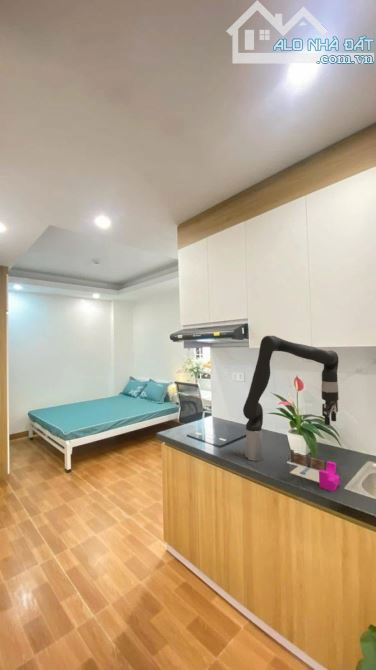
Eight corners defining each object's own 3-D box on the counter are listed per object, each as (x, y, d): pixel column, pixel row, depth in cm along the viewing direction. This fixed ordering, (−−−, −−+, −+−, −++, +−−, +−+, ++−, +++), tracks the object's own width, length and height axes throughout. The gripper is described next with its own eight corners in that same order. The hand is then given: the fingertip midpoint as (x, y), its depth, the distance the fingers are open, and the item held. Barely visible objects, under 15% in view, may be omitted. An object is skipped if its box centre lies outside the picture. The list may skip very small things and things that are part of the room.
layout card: (277, 469, 151) (277, 468, 151) (290, 459, 162) (290, 459, 162) (320, 483, 135) (320, 482, 135) (331, 471, 146) (331, 470, 146)
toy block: (333, 491, 127) (333, 475, 127) (319, 487, 131) (318, 471, 132) (341, 479, 138) (341, 464, 139) (328, 475, 142) (327, 461, 143)
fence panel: (310, 467, 150) (310, 456, 150) (312, 466, 152) (311, 455, 152) (327, 472, 144) (327, 461, 144) (329, 471, 145) (328, 460, 145)
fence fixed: (290, 461, 159) (289, 450, 159) (291, 460, 160) (291, 449, 160) (309, 467, 151) (309, 455, 151) (311, 466, 152) (310, 454, 152)
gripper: (327, 387, 146) (328, 418, 145) (316, 391, 136) (317, 424, 136) (342, 389, 140) (343, 421, 140) (332, 393, 131) (333, 427, 130)
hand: (330, 422), depth 138 cm, fingers open, 8 cm apart
